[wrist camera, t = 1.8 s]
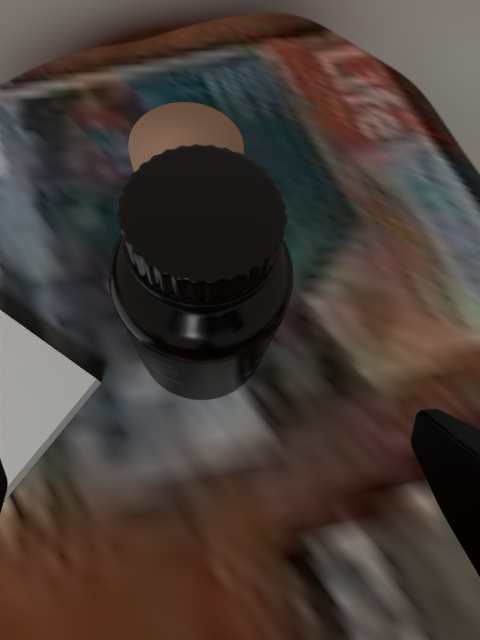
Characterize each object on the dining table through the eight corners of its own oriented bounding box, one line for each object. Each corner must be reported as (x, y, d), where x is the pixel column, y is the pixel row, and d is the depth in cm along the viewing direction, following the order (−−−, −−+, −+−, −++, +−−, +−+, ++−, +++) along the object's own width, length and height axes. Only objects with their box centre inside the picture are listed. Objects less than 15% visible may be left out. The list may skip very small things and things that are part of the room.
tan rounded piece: (253, 196, 26) (265, 137, 21) (201, 262, 24) (200, 212, 19) (179, 152, 27) (175, 85, 22) (122, 211, 25) (103, 152, 20)
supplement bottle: (278, 383, 22) (359, 294, 10) (154, 416, 20) (96, 355, 9) (244, 274, 24) (280, 103, 13) (130, 298, 23) (59, 133, 11)
